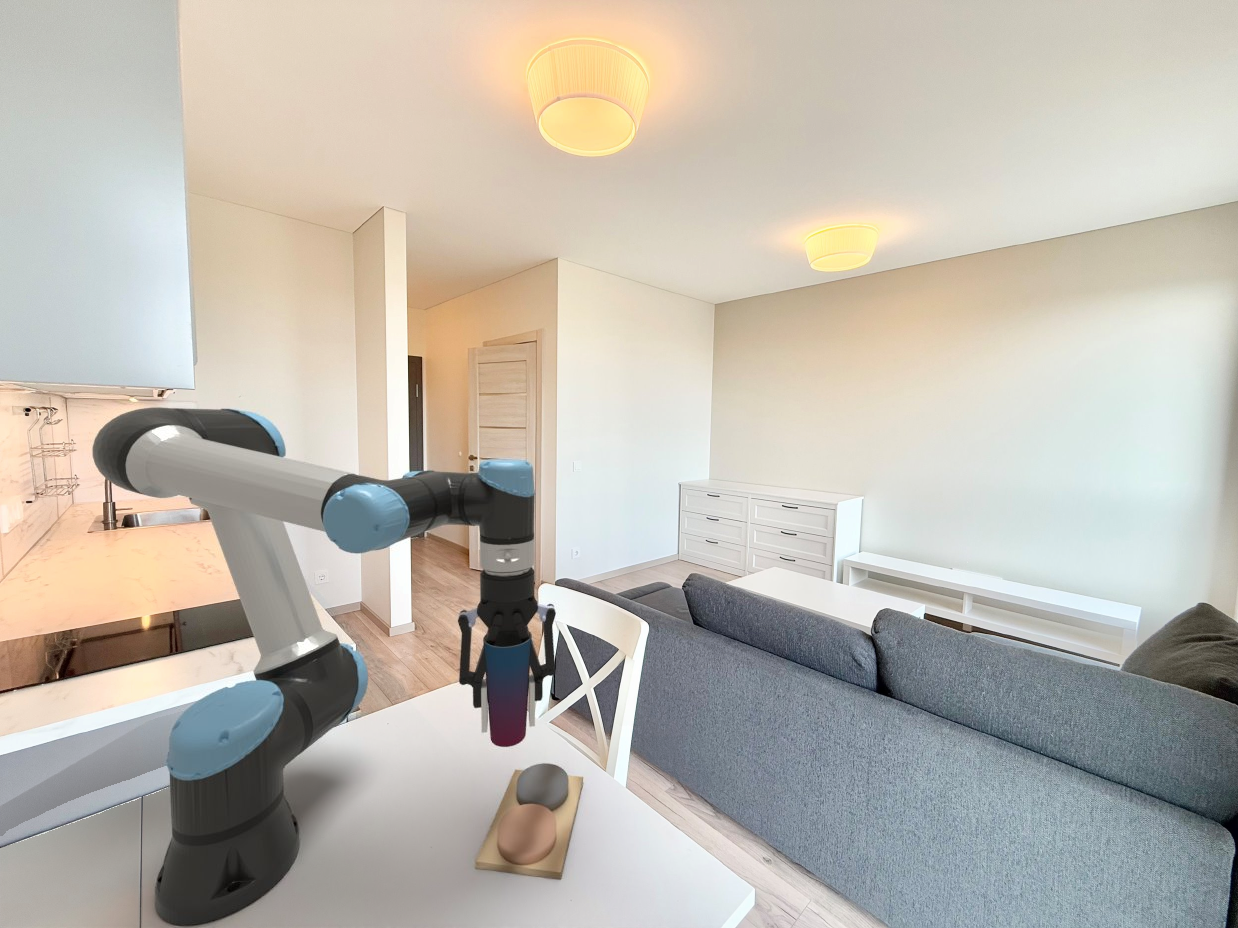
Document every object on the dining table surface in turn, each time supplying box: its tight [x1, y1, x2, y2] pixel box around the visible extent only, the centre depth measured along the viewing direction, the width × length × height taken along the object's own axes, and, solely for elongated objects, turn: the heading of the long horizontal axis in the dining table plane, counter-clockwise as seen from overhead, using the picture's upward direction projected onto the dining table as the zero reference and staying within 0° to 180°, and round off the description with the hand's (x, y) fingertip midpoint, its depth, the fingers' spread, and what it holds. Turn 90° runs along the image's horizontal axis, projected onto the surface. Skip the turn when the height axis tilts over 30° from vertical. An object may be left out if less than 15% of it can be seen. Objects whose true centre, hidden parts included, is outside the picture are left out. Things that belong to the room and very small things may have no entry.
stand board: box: [474, 762, 584, 880], centre depth 76 cm, size 12×18×3 cm, turn 175°
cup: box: [482, 630, 533, 748], centre depth 71 cm, size 7×7×15 cm
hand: (508, 723), depth 71 cm, fingers closed on cup, 6 cm apart
